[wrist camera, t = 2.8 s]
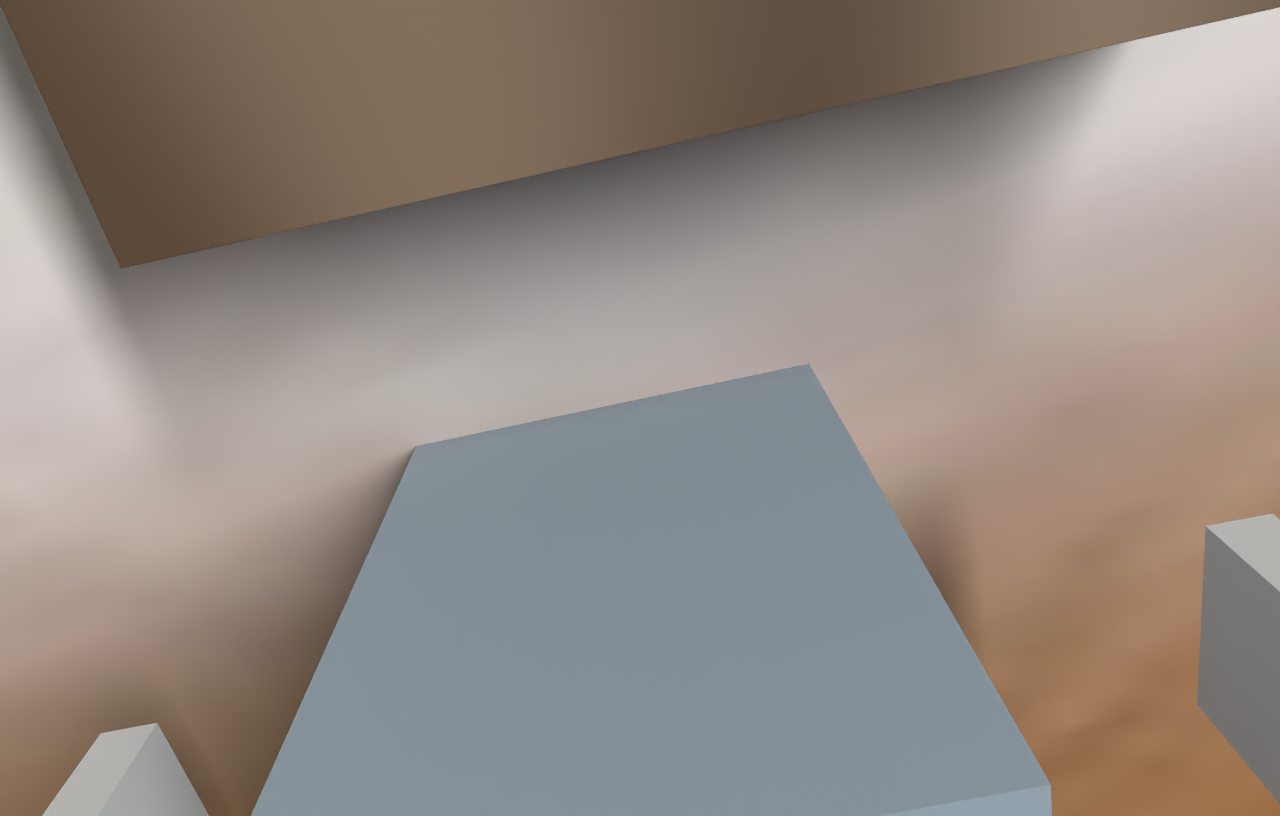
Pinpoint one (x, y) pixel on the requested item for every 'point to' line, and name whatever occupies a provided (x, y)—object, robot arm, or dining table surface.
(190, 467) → the dining table surface
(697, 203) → the dining table surface
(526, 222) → the dining table surface
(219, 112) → the walnut block
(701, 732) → the slate block
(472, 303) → the dining table surface
